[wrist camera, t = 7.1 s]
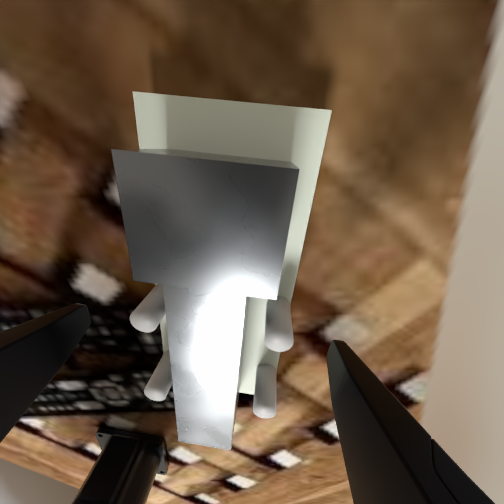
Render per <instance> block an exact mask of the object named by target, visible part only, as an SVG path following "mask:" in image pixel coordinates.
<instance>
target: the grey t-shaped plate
mask: <svg viewBox="0 0 504 504" xmlns="http://www.w3.org/2000/svg"><path fill="white" fill-rule="evenodd" d="M111 151H112V157H113V163H114V169H115V175H116V180H117V186H118V192H119V198H120V204H121V210H122V216H123V222H124V228H125V234H126V240H127V245H128V251H129V257H130V263H131V269H132V275H133V281H139V282H147V283H154V284H162V285H163V294H164V303H165V313H166V323H167V333H168V343H169V353H170V362H171V372H172V382H173V392H174V402H175V412H176V421H177V431H178V441H179V442H184V443H190V444H196V445H202V446H208V447H214V448H220V449H226V450H231V445H232V438H233V431H234V424H235V418H236V411H237V404H238V397H239V390H240V381H241V372H242V363H243V354H244V345H245V335H246V326H247V317H248V308H249V299H250V297H258V298H265V299H273V300H277V295H278V289H279V284H280V278H281V272H282V267H283V261H284V255H285V250H286V244H287V238H288V233H289V227H290V221H291V215H292V210H293V204H294V198H295V193H296V187H297V181H298V176H299V170H300V169H299V168H298V167H297V166H295V165H294V164H293V163H292V162H288V161H278V160H269V159H260V158H250V157H241V156H231V155H222V154H212V153H203V152H193V151H184V150H174V149H111Z"/></svg>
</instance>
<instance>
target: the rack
mask: <svg viewBox="0 0 504 504" xmlns="http://www.w3.org/2000/svg"><path fill="white" fill-rule="evenodd" d="M133 99H134V107H135V116H136V124H137V133H138V141H139V149H174V150H184V151H193V152H203V153H212V154H222V155H231V156H241V157H250V158H260V159H269V160H278V161H288V162H292V163H293V164H294V165H295V166H297V167H298V168H299V169H300V170H299V176H298V181H297V187H296V193H295V198H294V204H293V210H292V215H291V221H290V227H289V233H288V238H287V244H286V250H285V255H284V261H283V267H282V272H281V278H280V284H279V289H278V295H277V300H273V299H265V298H258V297H250V299H249V308H248V317H247V326H246V335H245V345H244V354H243V363H242V372H241V381H240V390H239V392H241V393H247V394H254V404H253V412H254V414H255V415H256V416H258V417H261V418H272V417H274V416H275V415H276V370H277V365H278V361H279V356H280V352H283V351H286V350H288V349H290V348H291V347H292V345H293V331H292V321H291V310H290V304H291V300H292V295H293V290H294V286H295V281H296V276H297V271H298V267H299V262H300V257H301V253H302V248H303V243H304V239H305V234H306V229H307V225H308V220H309V215H310V210H311V206H312V201H313V196H314V192H315V187H316V182H317V178H318V173H319V168H320V163H321V159H322V154H323V149H324V145H325V140H326V135H327V131H328V126H329V121H330V116H331V112H332V110H324V109H314V108H303V107H293V106H282V105H271V104H261V103H250V102H239V101H229V100H218V99H208V98H197V97H186V96H176V95H165V94H154V93H144V92H133ZM155 285H156V286H155V287H154V288H153V289H152V291H151V292H150V293H149V294H148V295H147V296H146V297H145V299H144V300H143V301H142V302H141V303H140V304H139V306H138V307H137V308H136V309H135V310H134V311H133V312H132V314H131V315H130V322H131V324H132V325H133V327H135V328H136V329H137V330H139V331H142V332H153V331H154V330H155V329H156V328H157V326H158V325H159V323H160V327H161V335H162V344H163V352H164V354H163V356H162V358H161V360H160V362H159V363H158V365H157V367H156V369H155V371H154V373H153V374H152V376H151V378H150V380H149V382H148V384H147V386H146V387H145V389H144V394H145V395H146V396H147V397H148V398H149V399H151V400H154V401H163V400H164V399H165V398H166V396H167V394H168V392H169V389H170V387H171V385H172V383H173V382H172V372H171V362H170V353H169V343H168V333H167V323H166V313H165V303H164V294H163V285H162V284H155Z"/></svg>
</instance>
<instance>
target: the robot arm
mask: <svg viewBox="0 0 504 504" xmlns="http://www.w3.org/2000/svg"><path fill="white" fill-rule="evenodd" d="M90 324H91V318H90V314H89V311H88V308H87V306H86V305H84V304H72V305H69V306H66V307H64V308H61V309H59V310H56V311H54V312H51V313H48V314H46V315H43V316H41V317H38V318H35V319H33V320H30V321H28V322H25V323H23V324H20V325H17V326H15V327H12V328H10V329H7V330H5V331H2V332H0V443H1V441H2V440H3V439H4V438H5V436H6V435H7V434H8V433H9V431H10V430H11V429H12V428H13V426H14V425H15V424H16V423H17V421H18V420H19V419H20V418H21V417H22V415H23V414H24V413H25V412H26V410H27V409H28V408H29V407H30V405H31V404H32V403H33V402H34V400H35V399H36V398H37V397H38V395H39V394H40V393H41V392H42V391H43V389H44V388H45V387H46V386H47V384H48V383H49V382H50V381H51V379H52V378H53V377H54V376H55V374H56V373H57V372H58V371H59V369H60V368H61V367H62V366H63V364H64V363H65V362H66V360H67V359H68V357H69V356H70V355H71V353H72V352H73V350H74V349H75V347H76V346H77V344H78V343H79V341H80V340H81V338H82V337H83V335H84V334H85V332H86V331H87V329H88V328H89V326H90ZM327 367H328V375H329V384H330V393H331V400H332V406H333V411H334V416H335V421H336V425H337V430H338V434H339V439H340V443H341V448H342V452H343V457H344V461H345V466H346V471H347V475H348V480H349V484H350V489H351V493H352V498H353V502H354V504H495V503H494V502H493V501H492V500H491V499H490V498H489V497H488V496H487V495H486V494H485V493H484V492H483V491H482V490H481V489H480V488H479V487H478V486H477V485H476V484H475V483H474V482H473V481H472V480H471V479H470V478H469V477H468V476H467V475H466V473H464V471H462V469H461V468H460V467H459V466H458V465H457V464H456V463H455V462H454V461H453V460H452V459H451V458H450V456H448V454H447V453H446V452H445V451H444V450H443V449H442V448H441V447H440V446H439V445H438V443H437V442H436V441H435V440H434V439H431V436H430V435H429V434H428V433H427V432H426V430H425V429H424V428H423V427H422V426H421V425H420V424H419V423H418V422H417V420H416V419H415V418H414V417H413V416H412V415H411V414H410V413H409V412H408V411H407V410H406V408H405V407H404V406H403V405H402V404H401V403H400V402H399V401H398V400H397V399H396V397H395V396H394V395H393V394H392V393H391V392H390V391H389V390H388V389H387V388H386V386H385V385H384V384H383V383H382V382H381V381H380V380H379V379H378V378H377V377H376V376H375V374H374V373H373V372H372V371H371V370H370V369H369V368H368V367H367V366H366V365H365V363H364V362H363V361H362V360H361V359H360V358H359V357H358V356H357V355H356V354H355V352H354V351H353V350H352V349H351V348H350V347H349V346H348V345H347V344H346V343H345V342H344V341H340V340H333V341H332V342H331V345H330V348H329V351H328V353H327ZM95 435H96V437H97V440H98V442H99V445H100V447H101V450H102V451H101V453H100V455H99V457H98V458H97V460H96V462H95V464H94V465H93V467H92V469H91V471H90V472H89V474H88V476H87V478H86V479H85V481H84V483H83V485H82V486H81V488H80V490H79V492H78V493H77V495H76V497H75V499H74V501H73V502H72V504H145V503H146V501H147V498H148V495H149V492H150V490H151V487H152V484H153V481H154V479H155V476H156V473H157V474H163V475H165V474H167V471H168V463H167V457H166V450H165V444H164V440H163V439H162V438H159V437H154V436H148V435H142V434H136V433H130V432H124V431H118V430H112V429H106V428H99V429H98V430H97V432H96V434H95Z"/></svg>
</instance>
